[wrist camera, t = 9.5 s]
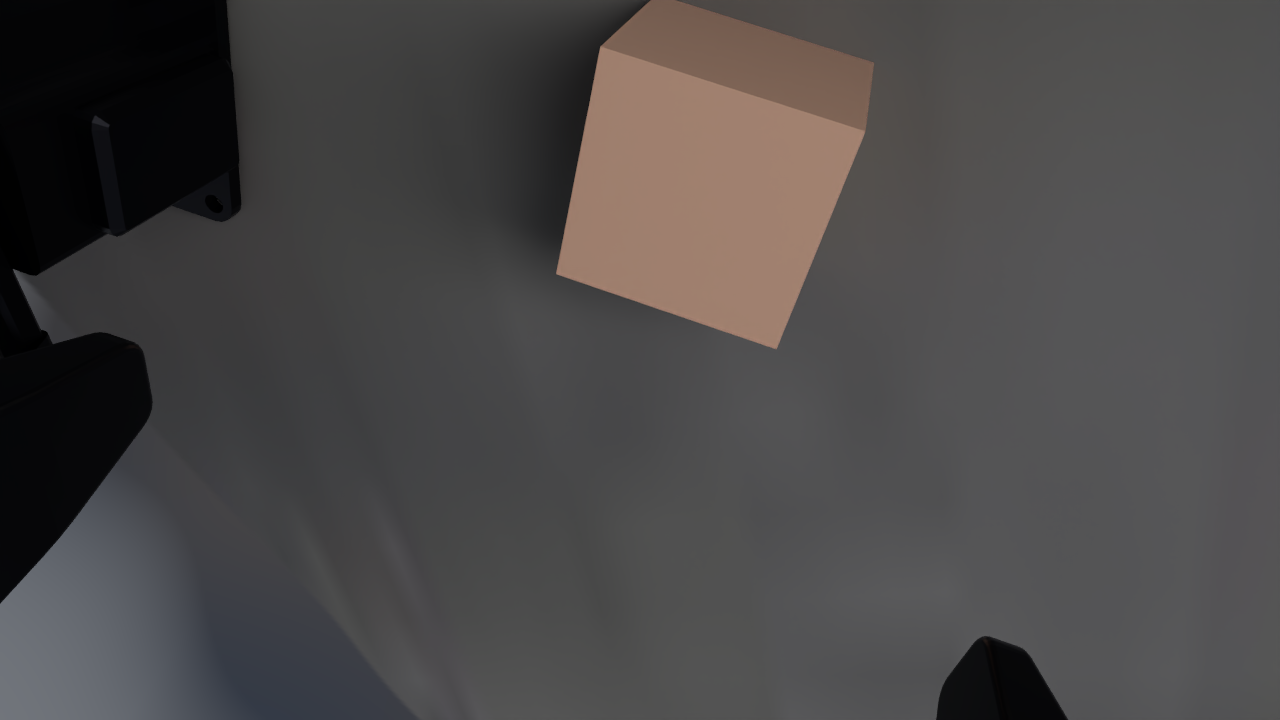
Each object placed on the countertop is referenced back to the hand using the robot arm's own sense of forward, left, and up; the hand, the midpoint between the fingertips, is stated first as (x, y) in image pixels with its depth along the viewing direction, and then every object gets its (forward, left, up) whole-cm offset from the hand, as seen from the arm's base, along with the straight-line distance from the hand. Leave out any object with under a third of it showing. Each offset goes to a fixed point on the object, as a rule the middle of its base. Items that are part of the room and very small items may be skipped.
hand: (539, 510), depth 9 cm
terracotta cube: (0, 0, -12) cm, 12 cm away
